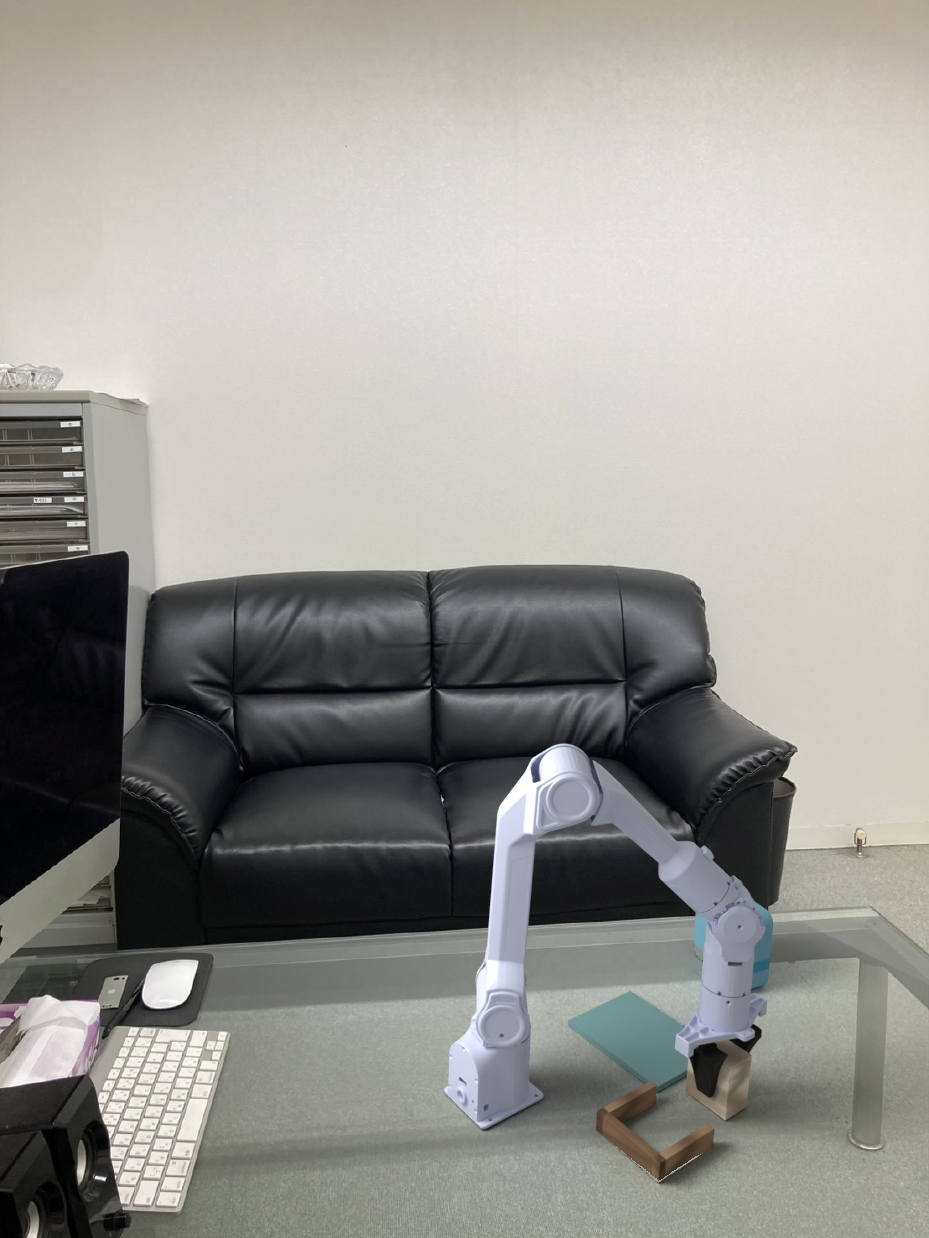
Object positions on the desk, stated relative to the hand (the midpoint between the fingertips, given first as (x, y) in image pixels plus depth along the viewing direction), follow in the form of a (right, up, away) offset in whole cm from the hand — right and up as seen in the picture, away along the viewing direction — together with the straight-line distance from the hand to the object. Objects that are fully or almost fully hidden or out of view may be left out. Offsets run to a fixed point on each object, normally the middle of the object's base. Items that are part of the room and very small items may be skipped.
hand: (717, 1084), depth 113 cm
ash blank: (0, -2, 0) cm, 2 cm away
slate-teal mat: (-7, 0, +11) cm, 13 cm away
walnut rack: (-9, -3, -6) cm, 11 cm away
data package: (+9, +3, +28) cm, 30 cm away
